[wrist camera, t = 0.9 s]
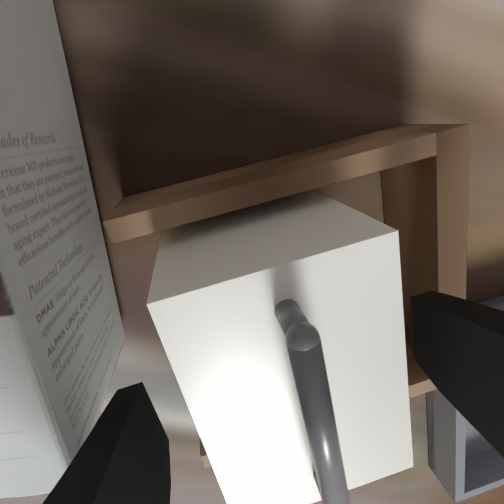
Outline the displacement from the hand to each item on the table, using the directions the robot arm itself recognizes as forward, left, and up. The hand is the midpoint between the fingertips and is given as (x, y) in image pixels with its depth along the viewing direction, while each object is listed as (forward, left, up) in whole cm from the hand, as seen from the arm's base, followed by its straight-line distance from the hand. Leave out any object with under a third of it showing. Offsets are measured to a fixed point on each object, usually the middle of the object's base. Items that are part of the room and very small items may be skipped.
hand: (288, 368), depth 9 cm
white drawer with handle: (0, 0, -5) cm, 5 cm away
